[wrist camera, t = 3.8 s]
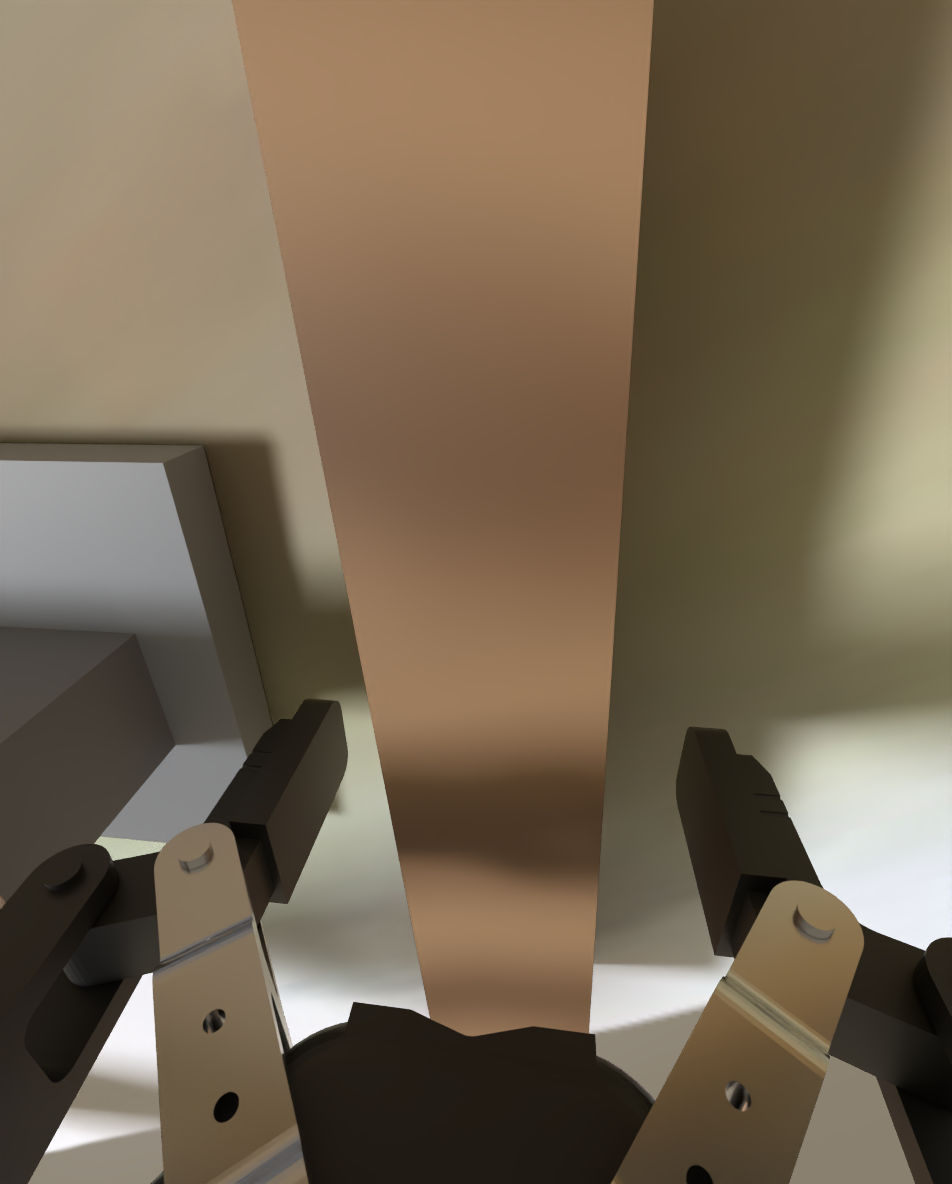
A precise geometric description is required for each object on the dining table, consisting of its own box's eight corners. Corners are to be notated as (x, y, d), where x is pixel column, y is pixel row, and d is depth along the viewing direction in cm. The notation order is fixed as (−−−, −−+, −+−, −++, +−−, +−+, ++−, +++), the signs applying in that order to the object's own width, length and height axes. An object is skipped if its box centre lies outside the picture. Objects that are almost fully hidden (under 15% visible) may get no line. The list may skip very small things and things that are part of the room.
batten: (361, 21, 9) (186, -236, 5) (610, -15, 9) (675, -342, 4) (469, 945, 21) (449, 1115, 17) (575, 954, 21) (582, 1132, 16)
